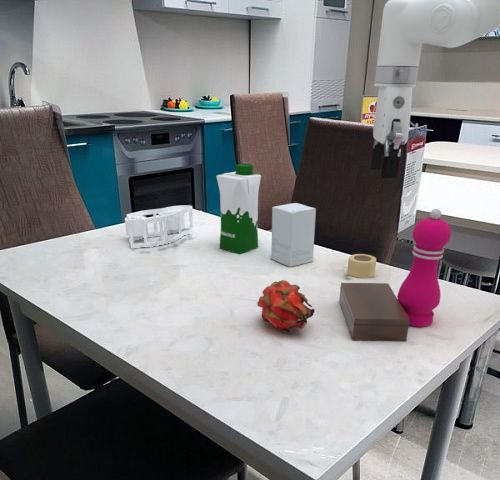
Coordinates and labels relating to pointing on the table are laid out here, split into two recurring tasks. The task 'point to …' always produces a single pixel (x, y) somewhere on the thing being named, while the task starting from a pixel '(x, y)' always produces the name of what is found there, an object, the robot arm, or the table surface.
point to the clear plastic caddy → (172, 224)
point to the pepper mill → (424, 270)
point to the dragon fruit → (284, 306)
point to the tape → (361, 266)
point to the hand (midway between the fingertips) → (382, 173)
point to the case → (373, 312)
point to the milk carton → (239, 209)
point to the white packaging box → (293, 234)
